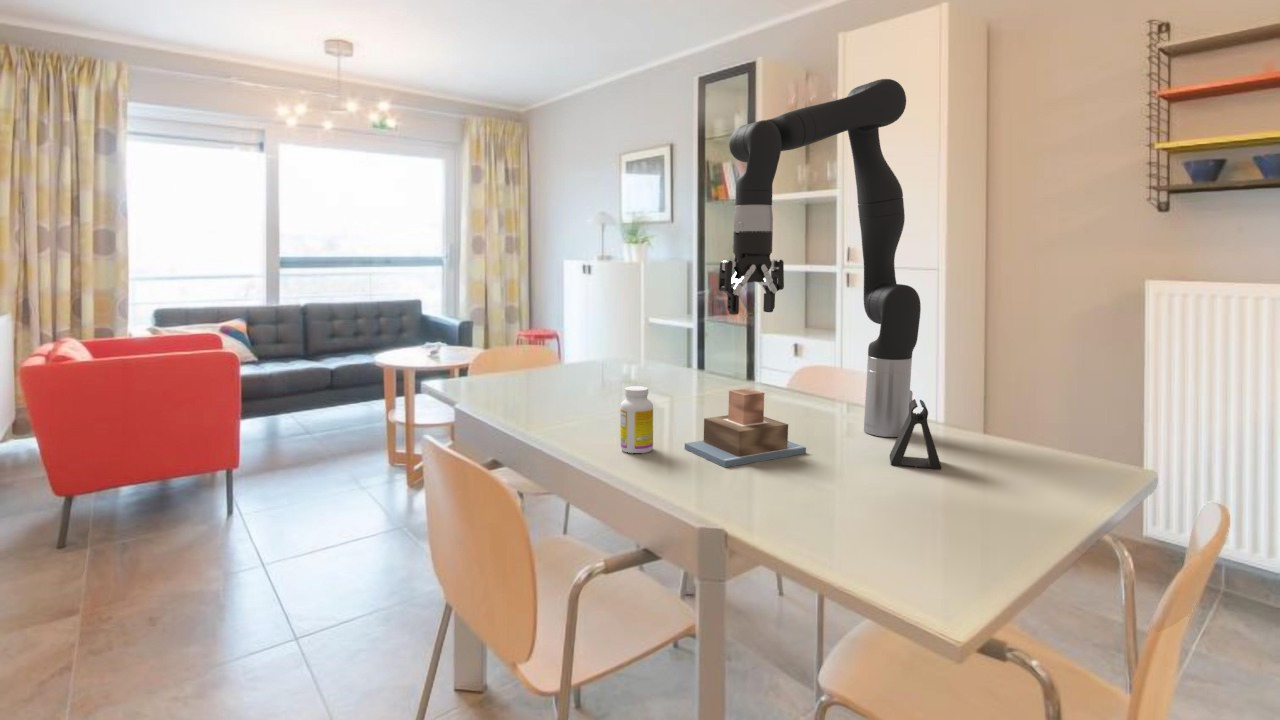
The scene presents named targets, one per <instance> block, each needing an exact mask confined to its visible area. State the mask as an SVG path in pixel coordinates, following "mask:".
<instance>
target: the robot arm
mask: <svg viewBox="0 0 1280 720" xmlns="http://www.w3.org/2000/svg"><path fill="white" fill-rule="evenodd" d="M906 106H907V95H906V91H905V89H904V88H903V86H902V85H901V84H900V83H899V82H898V81H896V80H895V79H891V78H881V79H876V80H873V81H871V82H868V83H866V84H865V83H864V84H862V85H858V86H856V87H854V88H853V89H851V90H850V91H849V92H848V94H847V96H846V97H842V98H839V99H836V100H835V99H834V100H831V101H827V102H823V103H819V104H814V105H811V106H810V105H809V106H805V107H801V108H798V109H795V110H791V111H788V112H785V113H783V114H780V115H779V116H776V117H772V118H769V119H764V120H759V121H754V122H752V123H751V122H750V123H748V124H744V125H740V126H738V128H736V129H735V130H734V131H733V133H732V134H731V136H730V137H729V145H728V146H729V147H728V148H729V152H730V153H731V155H732V157H734V159H736V160H738V161H739V162H742V163H747V165H746V169H745V170H744V171H745V172H744V173H743V174H741V175H740V176H739V177H737V179H736V181H735V182H736V183H735V201H734V203H735V204H734V205H735V208H734V216H733V237H732V238H733V240H732V241H733V245H732V246H733V247H732V249H733V250H732V252H733V255H734V260H733V261H732V260H727V259H726V260H725V259H724V260H723V259H722V260H720V263H719V271H718V272H719V275H718V288H717V289H718V291H719V292H722V293H725V294H726V295H727V305H726V307H727V308H726V309H727V311H728V312H729V314H730V315H736V316H737V315H739V313H740V312H739V311H740V308H739V305H740V295H738V294H739V293H740V291H741V290H742V287H745V285H746V284H747V283H758V284H759V285H760V286H761V288H762V290H763V291H764V293H763V312H764V313H773V312H774V309H775V303H776V293H777V292H779V291H781V290H784V288H785V279H784V278H785V277H784V276H785V275H784V274H785V273H784V272H785V271H784V270H785V269H784V263H785V262H784V260H783V259H772V260H771V254H772V253H773V239H774V238H773V236H774V234H773V233H774V232H773V231H774V230H773V229H774V214H773V183H774V179H775V177H776V174H777V173H776V172H777V169H778V165H779V161H780V158H781V152H785V151H791V150H796V149H799V148H802V147H806V146H808V145H812V144H815V143H817V142H819V141H822V140H825V139H828V138H831V137H833V136H835V135H838V134H841V133H844V132H847V133H848V134H847V135H848V139H849V140H848V141H849V143H850V144H849V145H850V148H851V150H850V151H851V153H852V155H851V156H852V159H853V167H854V175H855V177H854V178H855V184H856V195H857V209H858V218H859V219H858V220H859V227H860V233H861V234H860V236H861V246H862V259H863V307H864V311H865V314H866V315H867V317H868V319H869V320H870V321H871V322H873V323H876V324H877V325H878V324H879V325H880V329H879V335H878V337H877V339H875V340H873V341H871V342H870V343H869V345H868V349H867V366H866V367H867V368H866V382H865V383H866V388H865V402H864V405H865V406H864V416H863V417H864V418H863V419H864V420H863V432H865V433H866V434H869V435H873V436H875V437H876V436H877V437H883V438H898V436H899V434H900V432H901V430H902V427H903V425H904V423H905V421H906V419H907V417H908V414H909V404H910V402H911V401H912V400H913V391H912V390H911V381H912V380H911V377H912V363H913V362H912V360H913V352H914V349H915V347H916V345H917V342H918V335H919V329H920V328H919V327H920V319H921V309H922V307H921V306H922V305H921V299H920V295H919V293H918V292H917V290H916V289H915V288H914V287H912V286H910V285H909V284H902V283H900V284H899V283H897V280H896V270H895V268H896V267H895V259H896V252H897V249H898V244H899V242H900V239H901V237H902V233H903V230H904V227H905V226H904V225H905V218H906V217H905V205H904V192H903V189H902V185H901V184H900V181H899V179H898V177H897V176H896V174H895V173H894V171H893V170H892V168H891V167H890V165H889V164H888V162H887V161H886V158H885V157H884V155H883V152H882V148H881V142H880V131H879V128H883V127H887V126H889V125H891V124H894V123H895V122H896V121H898V120H899V119H900V118H901V117H902V116H903V114H904V112H905V109H906ZM733 271H735V272H734V274H733ZM769 271H770V272H771V273H770V272H769Z"/></svg>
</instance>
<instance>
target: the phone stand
mask: <svg viewBox="0 0 1280 720" xmlns="http://www.w3.org/2000/svg"><path fill="white" fill-rule="evenodd" d="M919 402H920V405H921V408H923V409H922V411H919V412H914V410H915V409H917V408H918V403H917V400H916V399H912V401H911V402H910V404H909V414H908V417H907V419H906V421H905V423H904V425H903V427H902V430H901V432H900V434H899V436H898V437H896V441H895V442H894V445H893V446H892V449H891V450H890V453H889V460H890V465H891V466H893V467H903V468H917V469H923V470H924V469H926V470H935V471H936V470H938V471H941V470H942V465H941V461H940V459H939V455H938V452H937V449H936V446H935V442H934V440H933V437H932V433H931V429H930V428H929V423H928V417H929V411H928V408H927V405H926V403H925V402H924V400H922V399H919ZM918 424H919V425H920V426H921V430H922V434H923V439H924V442H925V443H924V444H925V449H926V452H927V453H926V454H927V457H926V458H925V457H915V456H914V457H913V456H905V454H906V451H907V448H908V445H909V442H910V440H911V437H912V435H913V431H914V428H915V426H916V425H918Z"/></svg>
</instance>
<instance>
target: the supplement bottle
mask: <svg viewBox="0 0 1280 720" xmlns="http://www.w3.org/2000/svg"><path fill="white" fill-rule="evenodd" d="M624 395H625V399H624V400H623V401H621V403H620V406H619V408H620V409H619V410H620V411H619V412H620V413H619V414H620V421H619V422H620V424H619V425H620V428H619V429H620V431H619V432H620V436H619V437H620V449H621V451H622V450H623V451H622V452H624V453H627V452H628V453H627V454H633V453H642V454H647V453H649V452H650V453H651V451H652V450H653V449H654V404H653V402H652V401H651V400H649V399H648V396H649V388H648V387H646V386H640V385H639V386H638V385H637V386H636V385H635V386H634V385H633V386H632V385H631V386H627V387H625V388H624Z"/></svg>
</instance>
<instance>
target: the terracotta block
mask: <svg viewBox="0 0 1280 720" xmlns="http://www.w3.org/2000/svg"><path fill="white" fill-rule="evenodd" d="M764 410H765V392H763V391H759V390H755V389H752V388H742V389H741V388H740V389H733V390H728V420H731V421H733V422H736V423H739V424H742V425H747V424H754V423H761V422H763V419H764V417H765V416H764V414H765V413H764V412H765V411H764Z"/></svg>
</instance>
